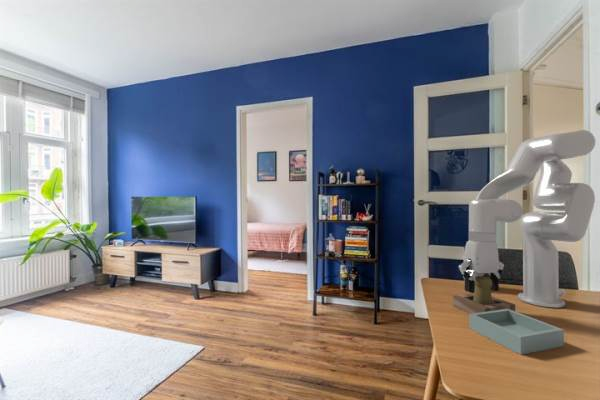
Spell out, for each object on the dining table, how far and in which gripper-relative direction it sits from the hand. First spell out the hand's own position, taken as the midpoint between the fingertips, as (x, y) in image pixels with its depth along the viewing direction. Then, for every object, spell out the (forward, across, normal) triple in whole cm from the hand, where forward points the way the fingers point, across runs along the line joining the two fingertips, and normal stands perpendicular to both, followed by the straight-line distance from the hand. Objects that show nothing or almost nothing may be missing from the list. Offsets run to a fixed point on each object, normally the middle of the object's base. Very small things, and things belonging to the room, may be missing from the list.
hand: (481, 290), depth 91 cm
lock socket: (+6, -1, 0) cm, 7 cm away
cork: (+7, -1, 0) cm, 7 cm away
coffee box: (+6, -20, -21) cm, 29 cm away
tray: (+7, +7, +16) cm, 19 cm away
